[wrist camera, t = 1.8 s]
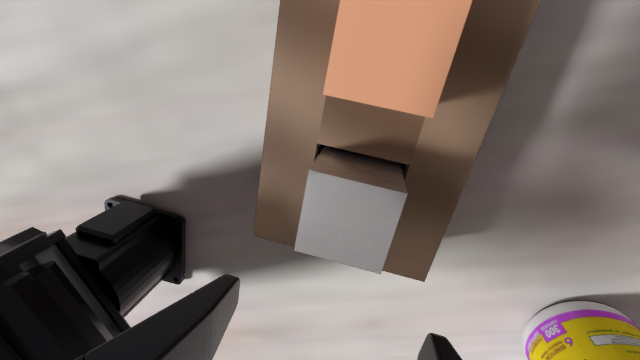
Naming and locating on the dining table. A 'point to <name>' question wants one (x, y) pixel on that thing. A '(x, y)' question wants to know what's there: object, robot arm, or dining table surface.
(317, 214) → the grey cube
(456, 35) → the orange cube
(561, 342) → the supplement bottle
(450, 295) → the dining table surface
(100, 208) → the dining table surface
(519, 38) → the console
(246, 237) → the dining table surface
